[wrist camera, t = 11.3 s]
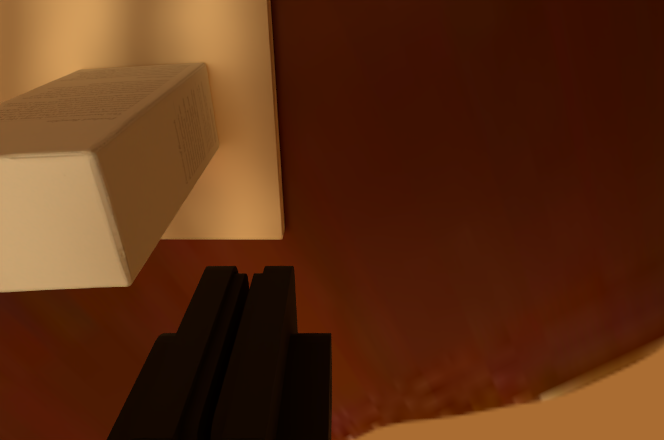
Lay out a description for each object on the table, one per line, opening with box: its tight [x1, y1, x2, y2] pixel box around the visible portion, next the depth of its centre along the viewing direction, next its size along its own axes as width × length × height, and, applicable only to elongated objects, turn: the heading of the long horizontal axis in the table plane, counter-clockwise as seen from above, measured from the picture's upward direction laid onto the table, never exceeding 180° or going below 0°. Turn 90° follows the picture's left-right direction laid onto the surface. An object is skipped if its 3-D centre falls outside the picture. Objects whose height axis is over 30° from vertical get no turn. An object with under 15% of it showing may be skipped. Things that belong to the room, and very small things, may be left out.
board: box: [0, 0, 285, 239], centre depth 23 cm, size 24×14×4 cm, turn 91°
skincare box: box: [0, 63, 219, 292], centre depth 18 cm, size 6×4×12 cm
